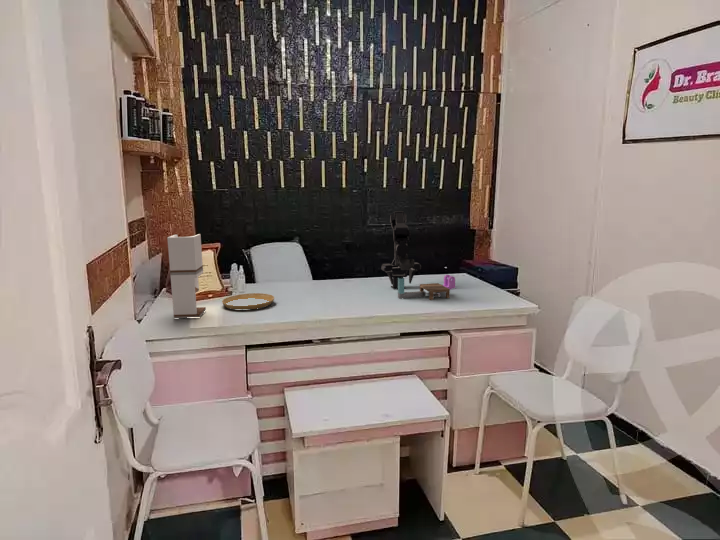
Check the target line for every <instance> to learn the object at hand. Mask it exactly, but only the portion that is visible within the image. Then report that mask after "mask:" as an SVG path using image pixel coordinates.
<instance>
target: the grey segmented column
mask: <svg viewBox="0 0 720 540" xmlns="http://www.w3.org/2000/svg"><path fill="white" fill-rule="evenodd" d="M178 235H179V234H173V235H170V236H167V239H166V240H167V249H168V250H167V251H168V262H169V274H170V284H171V285H170V286H171V296H172V297H171V298H172V300H171V301H172V310H173V319H174V318H187V317H200V316H201V315H202V314H203V313H204V311H205V310H206V306H205V307H204V306H203V307H197V295H196V294H197V293H198V292H199V291H200V288H199V287H200V285H199V284H200V283H199V276H201V275H202V274H203V273H204V266H203V263H204V262H203V253H202V249H203V248H202V237H201V233H198V234H196V235H191V236H178ZM204 314H205V313H204ZM204 314H203V315H204ZM203 315H202V316H203Z"/></svg>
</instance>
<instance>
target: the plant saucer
mask: <svg viewBox="0 0 720 540" xmlns="http://www.w3.org/2000/svg"><path fill="white" fill-rule="evenodd" d="M248 298H255V299H264V300H267V301H269V302H266V303H262V304H257V305H248V306H233V305H227V304H226V303H228V302H230V301H233V300H238V299H248ZM274 300H275V296H274V295H272V294H269V293H262V292H261V293H259V292H257V293H253V292H252V293H241V294H235V295H231V296H227V297H226V298H224V299H222V301H221V303H222V304H223V306H224V307H225V308H226V309H229V308H231V309H256V310H258V309H257V308H261V309H263V308H262V307H265V308H267V307H269V306H270V305H271V304H272V303H273V302H274ZM268 305H269V306H268ZM266 306H267V307H266ZM231 309H230V310H231Z"/></svg>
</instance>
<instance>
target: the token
mask: <svg viewBox="0 0 720 540" xmlns="http://www.w3.org/2000/svg"><path fill="white" fill-rule="evenodd" d="M439 296H440V297H441V293H440V292H439V293H433V298H439Z"/></svg>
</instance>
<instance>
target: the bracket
mask: <svg viewBox="0 0 720 540" xmlns="http://www.w3.org/2000/svg"><path fill="white" fill-rule="evenodd" d="M442 285H443V286H445V287H446V288H448V289H450V290H453V289H452V288H455V289H456V277H455V276H452V275H449V274H445V275H444V276H443V284H442Z"/></svg>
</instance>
